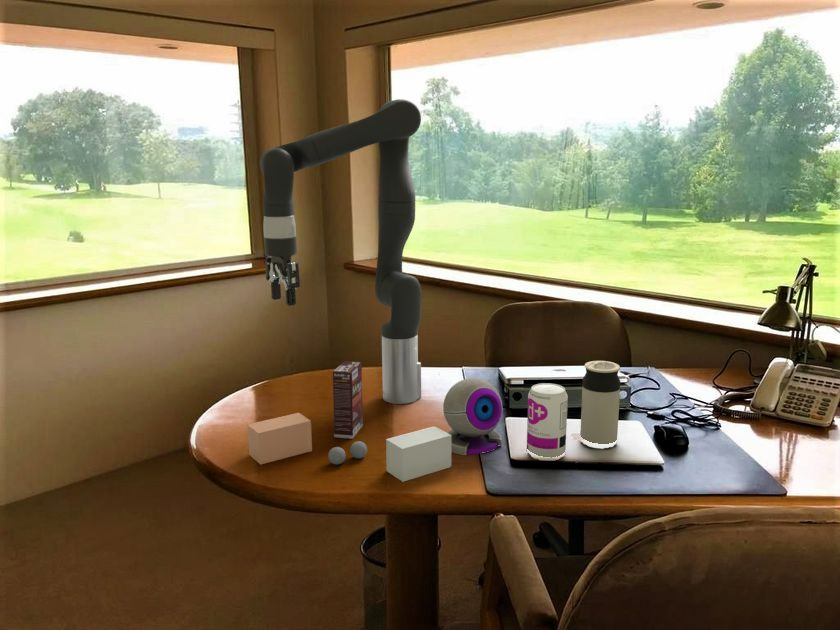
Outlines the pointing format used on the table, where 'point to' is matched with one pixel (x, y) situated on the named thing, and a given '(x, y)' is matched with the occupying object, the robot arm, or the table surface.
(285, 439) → the peach rectangular block
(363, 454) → the slate ball
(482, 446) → the webcam
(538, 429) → the supplement can
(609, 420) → the travel mug
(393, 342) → the robot arm
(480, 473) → the table surface
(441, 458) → the white rectangular eraser
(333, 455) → the slate ball
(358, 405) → the supplement box
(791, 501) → the table surface
